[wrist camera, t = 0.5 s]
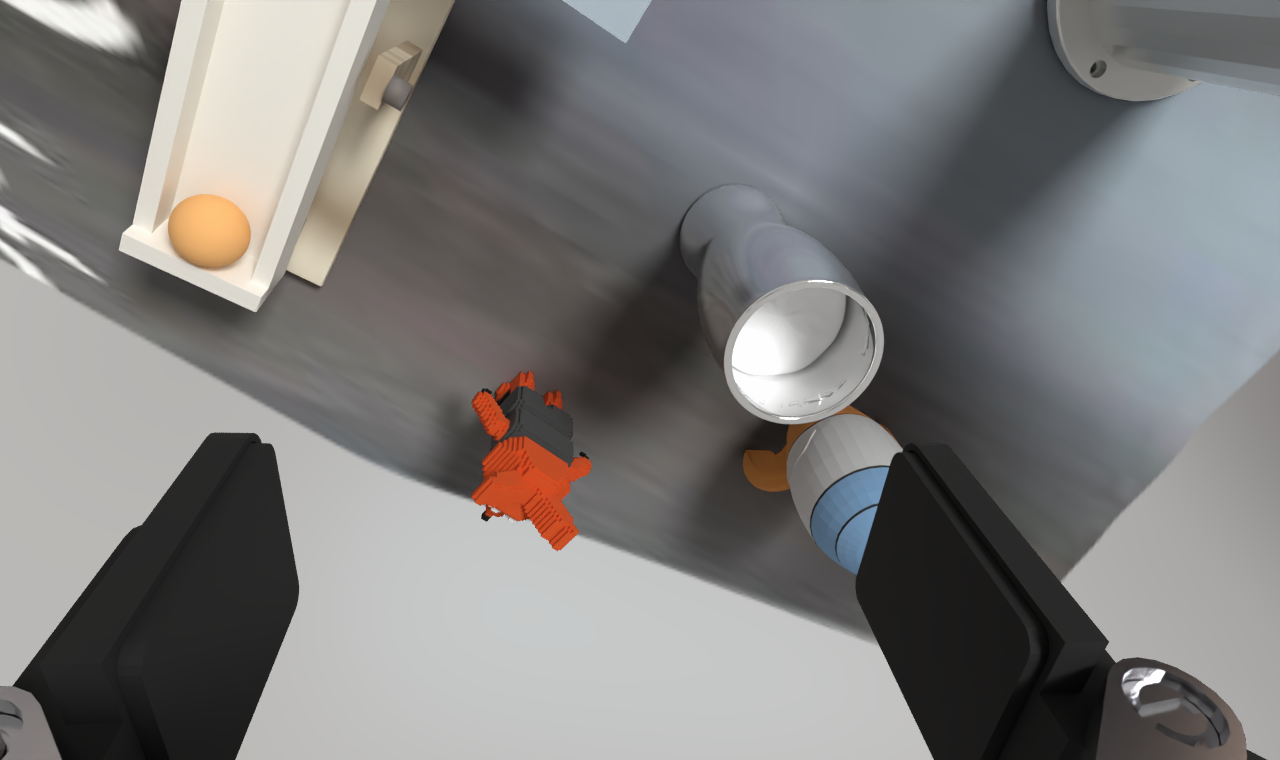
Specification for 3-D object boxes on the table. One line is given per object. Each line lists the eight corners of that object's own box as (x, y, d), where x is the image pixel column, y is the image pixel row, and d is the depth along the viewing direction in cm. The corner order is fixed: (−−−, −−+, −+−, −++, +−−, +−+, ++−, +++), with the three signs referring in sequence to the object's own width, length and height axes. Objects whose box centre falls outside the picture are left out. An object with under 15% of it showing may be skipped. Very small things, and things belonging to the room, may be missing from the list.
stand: (336, -371, 29) (269, -468, 23) (559, -196, 32) (559, -237, 26) (146, 195, 39) (61, 242, 32) (333, 285, 42) (290, 345, 35)
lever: (327, -384, 24) (258, -414, 20) (697, -94, 28) (703, -70, 24) (178, 197, 37) (118, 250, 33) (448, 329, 42) (425, 389, 38)
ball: (198, 169, 33) (162, 198, 30) (270, 206, 34) (241, 236, 32) (181, 225, 35) (145, 257, 32) (251, 258, 36) (221, 292, 33)
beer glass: (663, 287, 44) (705, 424, 31) (681, 169, 41) (736, 266, 28) (776, 297, 45) (863, 434, 32) (803, 182, 42) (912, 283, 29)
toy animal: (443, 402, 46) (409, 529, 36) (496, 341, 45) (476, 456, 34) (545, 466, 50) (540, 601, 39) (598, 412, 48) (607, 538, 37)
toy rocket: (906, 403, 51) (991, 598, 40) (770, 468, 55) (814, 662, 44) (839, 308, 45) (917, 504, 34) (693, 388, 49) (720, 587, 38)
